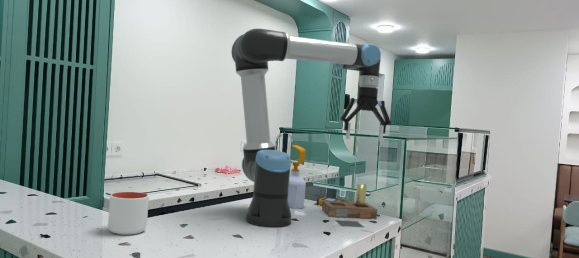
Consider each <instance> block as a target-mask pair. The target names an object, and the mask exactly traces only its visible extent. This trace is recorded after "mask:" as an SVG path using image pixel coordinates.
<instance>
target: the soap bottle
mask: <svg viewBox="0 0 579 258" xmlns="http://www.w3.org/2000/svg"><path fill="white" fill-rule="evenodd" d="M291 147H292V148H294V149H296V150H298V161H291V164H292V167H293V168H292V169H290V178H289V189H288V203H289V208H290V209H293V210H294V209H295V210H296V209H297V210H299V209H303V208H304V207H305V196H306V187H307V186H306V183H307V182H306V180H305V179H304V178H303V177H302V176H300V169H298V167H300V165H303V164H305V162H306V149H305V148H304V147H301V146H300V145H296V144H292V145H291Z"/></svg>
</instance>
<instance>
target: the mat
mask: <svg viewBox="0 0 579 258" xmlns="http://www.w3.org/2000/svg"><path fill="white" fill-rule="evenodd" d="M335 222H337V224H338V225H339V226H340V227H348V228H349V227H352V228H365V227H364V225H362V224H361V223H360V222H359V221H358V220H339V219H335Z"/></svg>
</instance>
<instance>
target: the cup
mask: <svg viewBox="0 0 579 258" xmlns="http://www.w3.org/2000/svg"><path fill="white" fill-rule="evenodd" d="M149 198H150V195H149V194H148V193H143V192H139V191H137V192H136V191H121V192H114V193H111V194H110V196H109V206H108V207H109V208H108V222H107V228H108V230H109V232H111V233H112V234H115V233H116V234H115V235H124V236H125V235H126V236H130V235H136V234H140V233H143V232H144V231H145V230H146V229H147V228H148V227H147V226H148V216H149V215H148V214H149V213H148V211H149V200H150V199H149Z"/></svg>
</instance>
